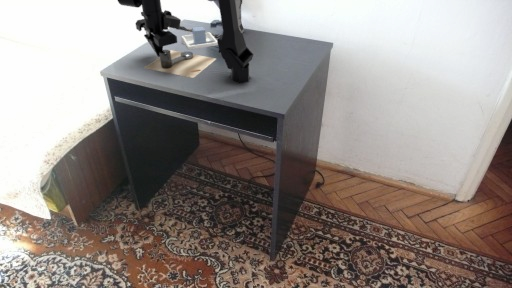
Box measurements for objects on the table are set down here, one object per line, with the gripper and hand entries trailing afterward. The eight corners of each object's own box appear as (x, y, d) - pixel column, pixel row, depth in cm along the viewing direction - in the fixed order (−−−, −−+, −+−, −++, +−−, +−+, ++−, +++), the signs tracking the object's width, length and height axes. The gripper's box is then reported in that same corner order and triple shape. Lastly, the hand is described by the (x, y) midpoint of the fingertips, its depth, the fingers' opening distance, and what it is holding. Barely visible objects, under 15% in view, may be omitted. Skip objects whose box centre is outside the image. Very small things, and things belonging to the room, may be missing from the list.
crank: (187, 53, 127) (185, 39, 124) (195, 56, 125) (194, 42, 122) (158, 66, 118) (155, 52, 115) (167, 69, 116) (165, 55, 113)
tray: (218, 48, 135) (218, 42, 133) (189, 53, 131) (188, 46, 130) (210, 38, 143) (209, 32, 142) (182, 42, 140) (181, 35, 138)
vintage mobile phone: (241, 34, 146) (240, -31, 131) (230, 34, 147) (227, -32, 132) (243, 31, 149) (242, -33, 134) (232, 30, 150) (230, -34, 135)
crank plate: (217, 62, 125) (216, 58, 124) (193, 82, 113) (193, 77, 112) (171, 53, 130) (170, 49, 129) (144, 71, 119) (144, 67, 118)
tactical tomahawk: (226, 36, 148) (226, 33, 148) (217, 39, 143) (217, 36, 143) (186, 26, 156) (186, 23, 155) (176, 29, 151) (176, 27, 150)
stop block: (206, 45, 136) (205, 29, 132) (196, 46, 135) (194, 31, 131) (203, 41, 139) (202, 26, 135) (193, 42, 138) (192, 27, 134)
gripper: (189, 12, 107) (194, 60, 117) (162, -3, 119) (169, 41, 128) (155, 20, 102) (163, 69, 112) (130, 3, 113) (139, 49, 123)
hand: (159, 56), depth 119 cm, fingers closed
